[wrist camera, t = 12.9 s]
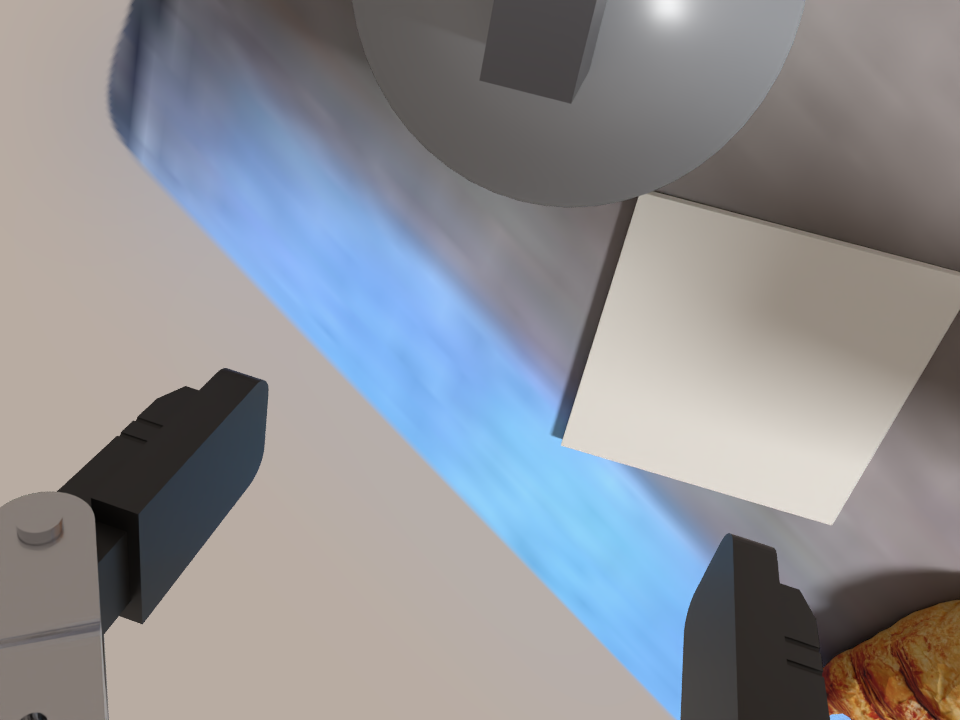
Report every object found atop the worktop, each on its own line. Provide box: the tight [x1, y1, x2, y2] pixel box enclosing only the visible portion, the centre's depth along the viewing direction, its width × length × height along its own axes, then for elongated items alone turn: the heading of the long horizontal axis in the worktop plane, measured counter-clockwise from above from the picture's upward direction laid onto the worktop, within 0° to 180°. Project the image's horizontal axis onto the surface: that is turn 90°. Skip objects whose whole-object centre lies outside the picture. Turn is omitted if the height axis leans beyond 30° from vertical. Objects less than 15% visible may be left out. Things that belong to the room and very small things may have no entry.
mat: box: [561, 191, 960, 525], centre depth 43 cm, size 16×16×1 cm
